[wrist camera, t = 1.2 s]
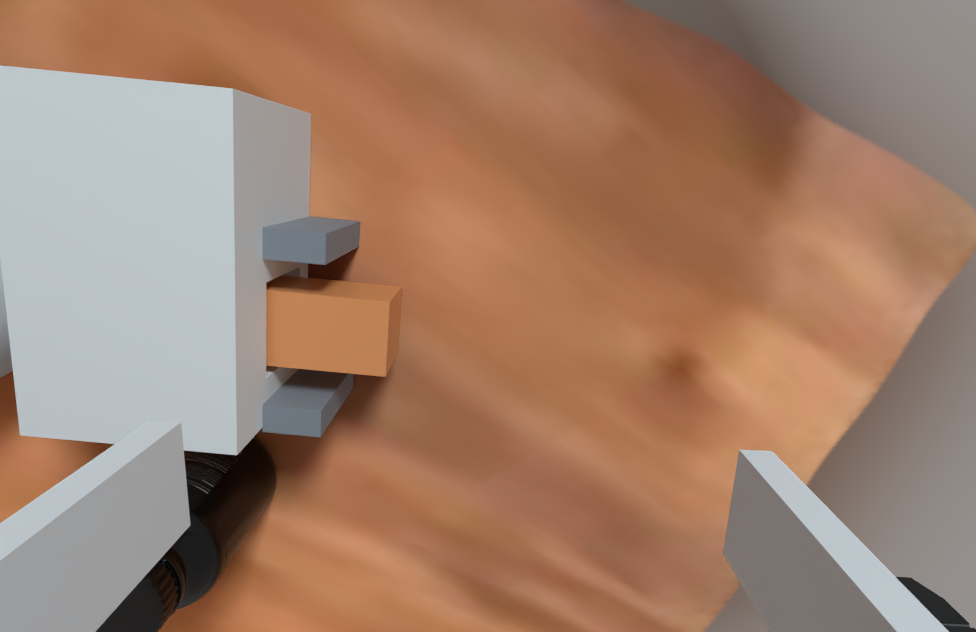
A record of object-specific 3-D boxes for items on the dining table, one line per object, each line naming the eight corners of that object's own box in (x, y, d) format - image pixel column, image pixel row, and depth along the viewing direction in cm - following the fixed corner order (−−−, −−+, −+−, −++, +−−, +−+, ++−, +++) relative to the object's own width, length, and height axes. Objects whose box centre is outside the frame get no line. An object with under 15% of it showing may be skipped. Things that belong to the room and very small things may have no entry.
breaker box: (147, 368, 36) (20, 440, 27) (133, 96, 32) (-22, 63, 23) (353, 388, 36) (301, 466, 27) (364, 119, 33) (308, 96, 23)
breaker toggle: (270, 341, 34) (241, 363, 30) (270, 274, 33) (240, 287, 29) (398, 353, 34) (385, 376, 30) (402, 286, 33) (389, 301, 29)
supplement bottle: (155, 468, 38) (5, 599, 26) (223, 403, 37) (98, 510, 25) (233, 536, 39) (122, 690, 28) (301, 475, 38) (216, 609, 26)
